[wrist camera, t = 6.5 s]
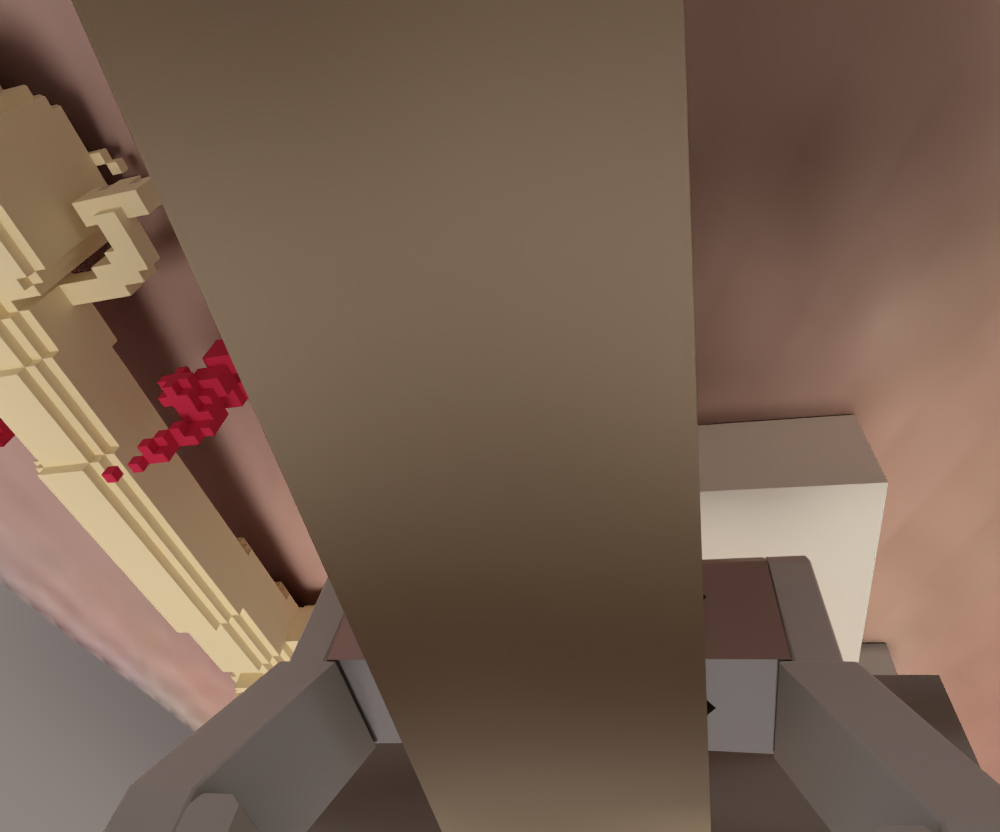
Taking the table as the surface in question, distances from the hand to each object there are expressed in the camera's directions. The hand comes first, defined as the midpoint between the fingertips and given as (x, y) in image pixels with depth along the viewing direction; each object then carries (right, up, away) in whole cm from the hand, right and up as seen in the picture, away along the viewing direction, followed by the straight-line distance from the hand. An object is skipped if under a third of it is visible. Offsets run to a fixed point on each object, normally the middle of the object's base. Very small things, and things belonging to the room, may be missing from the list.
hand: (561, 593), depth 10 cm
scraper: (0, +2, 0) cm, 2 cm away
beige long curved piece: (-12, +3, +14) cm, 18 cm away
